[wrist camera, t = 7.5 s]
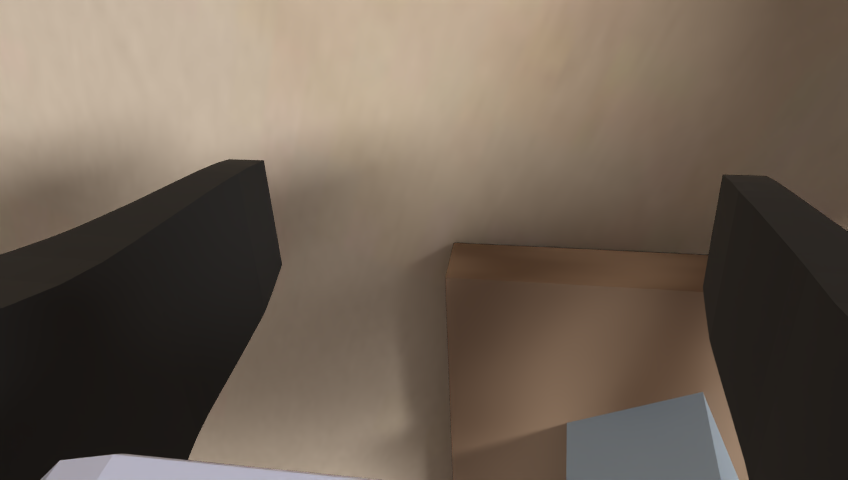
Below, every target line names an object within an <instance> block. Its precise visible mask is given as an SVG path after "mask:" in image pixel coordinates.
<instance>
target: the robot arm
mask: <svg viewBox="0 0 848 480" xmlns="http://www.w3.org/2000/svg"><path fill="white" fill-rule="evenodd" d="M281 266H282V262H281V257H280V251H279V245H278V239H277V234H276V228H275V222H274V216H273V211H272V205H271V199H270V194H269V188H268V182H267V176H266V171H265V165H264V160H231V159H229V160H225V161H222V162H219V163H216V164H213V165H211V166H209V167H206V168H204V169H202V170H199V171H197V172H195V173H193V174H191V175H188V176H186V177H184V178H182V179H180V180H178V181H176V182H174V183H172V184H170V185H168V186H165V187H163V188H161V189H159V190H157V191H155V192H153V193H151V194H149V195H147V196H145V197H143V198H141V199H139V200H137V201H134V202H132V203H130V204H128V205H126V206H124V207H121V208H119V209H117V210H115V211H112V212H110V213H108V214H106V215H103V216H101V217H99V218H96V219H94V220H92V221H90V222H87V223H85V224H83V225H81V226H78V227H76V228H74V229H71V230H69V231H66V232H64V233H61V234H58V235H56V236H53V237H51V238H48V239H45V240H42V241H39V242H37V243H34V244H31V245H28V246H25V247H22V248H19V249H16V250H14V251H10V252H7V253H4V254H1V255H0V480H380V479H371V478H361V477H351V476H341V475H331V474H321V473H311V472H301V471H291V470H281V469H271V468H261V467H251V466H241V465H231V464H221V463H211V462H201V461H191V460H188V458H189V455H190V453H191V450H192V448H193V446H194V443H195V441H196V438H197V436H198V434H199V432H200V430H201V428H202V426H203V424H204V422H205V420H206V418H207V416H208V414H209V412H210V410H211V408H212V407H213V405H214V403H215V401H216V400H217V398H218V396H219V394H220V392H221V391H222V389H223V387H224V385H225V383H226V382H227V380H228V378H229V376H230V375H231V373H232V371H233V369H234V367H235V366H236V364H237V362H238V360H239V358H240V357H241V355H242V353H243V351H244V350H245V348H246V346H247V344H248V342H249V340H250V339H251V337H252V335H253V333H254V331H255V329H256V328H257V326H258V324H259V322H260V320H261V318H262V316H263V314H264V313H265V310H266V308H267V305H268V302H269V300H270V297H271V295H272V292H273V289H274V286H275V283H276V280H277V277H278V274H279V272H280V269H281ZM703 294H704V303H705V311H706V319H707V326H708V333H709V340H710V344H711V348H712V351H713V355H714V359H715V362H716V366H717V369H718V373H719V376H720V380H721V383H722V386H723V390H724V393H725V397H726V400H727V403H728V407H729V410H730V414H731V417H732V420H733V424H734V427H735V431H736V434H737V437H738V441H739V444H740V447H741V451H742V454H743V458H744V461H745V465H746V469H747V474H748V478H749V480H848V231H846V230H845V229H843V228H842V227H841V226H839V225H838V224H836V223H835V222H833V221H832V220H830V219H829V218H828V217H826V216H825V215H823V214H822V213H821V212H819V211H818V210H816V209H815V208H814V207H812V206H811V205H809V204H808V203H807V202H805V201H804V200H802V199H801V198H800V197H798V196H797V195H795V194H794V193H792V192H791V191H790V190H788V189H787V188H785V187H784V186H782V185H781V184H779V183H778V182H776V181H774V180H773V179H771V178H769V177H767V176H748V175H723V176H722V182H721V188H720V193H719V199H718V204H717V210H716V216H715V221H714V227H713V232H712V238H711V244H710V249H709V255H708V260H707V266H706V272H705V277H704V283H703Z"/></svg>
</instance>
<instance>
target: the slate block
mask: <svg viewBox="0 0 848 480" xmlns="http://www.w3.org/2000/svg"><path fill="white" fill-rule="evenodd" d="M566 480H739V479H738V476H737V474H736V471H735V469H734V466H733V464H732V462H731V459H730V457H729V454H728V452H727V449H726V447H725V445H724V442H723V440H722V437H721V435H720V432H719V430H718V428H717V425H716V423H715V420H714V418H713V415H712V413H711V411H710V408H709V406H708V403H707V401H706V398H705V396H704V394H703V392H700V393H696V394H691V395H687V396H683V397H678V398H674V399H669V400H665V401H661V402H656V403H652V404H647V405H643V406H639V407H634V408H630V409H626V410H621V411H617V412H612V413H608V414H604V415H599V416H595V417H591V418H586V419H582V420H577V421H573V422H569V423H567V456H566Z"/></svg>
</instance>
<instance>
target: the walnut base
mask: <svg viewBox="0 0 848 480" xmlns="http://www.w3.org/2000/svg"><path fill="white" fill-rule="evenodd" d="M707 260H708V255H694V254H673V253H653V252H632V251H611V250H591V249H570V248H550V247H529V246H509V245H488V244H467V243H454V244H453V248H452V252H451V256H450V260H449V264H448V268H447V272H446V277H445V284H446V311H447V337H448V364H449V390H450V417H451V443H452V470H453V480H566V456H567V423H569V422H573V421H577V420H582V419H586V418H591V417H595V416H599V415H604V414H608V413H612V412H617V411H621V410H626V409H630V408H634V407H639V406H643V405H647V404H652V403H656V402H661V401H665V400H669V399H674V398H678V397H683V396H687V395H691V394H696V393H700V392H703V394H704V396H705V398H706V401H707V403H708V406H709V408H710V411H711V413H712V415H713V418H714V420H715V423H716V425H717V428H718V430H719V432H720V435H721V437H722V440H723V442H724V445H725V447H726V449H727V452H728V454H729V457H730V459H731V462H732V464H733V466H734V469H735V471H736V474H737V476H738V479H739V480H749V478H748V474H747V469H746V465H745V461H744V458H743V454H742V451H741V447H740V444H739V441H738V437H737V434H736V431H735V427H734V424H733V420H732V417H731V414H730V410H729V407H728V403H727V400H726V397H725V393H724V390H723V386H722V383H721V380H720V376H719V373H718V369H717V366H716V362H715V359H714V355H713V351H712V348H711V344H710V340H709V333H708V326H707V319H706V311H705V303H704V294H703V283H704V277H705V272H706V266H707Z"/></svg>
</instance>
